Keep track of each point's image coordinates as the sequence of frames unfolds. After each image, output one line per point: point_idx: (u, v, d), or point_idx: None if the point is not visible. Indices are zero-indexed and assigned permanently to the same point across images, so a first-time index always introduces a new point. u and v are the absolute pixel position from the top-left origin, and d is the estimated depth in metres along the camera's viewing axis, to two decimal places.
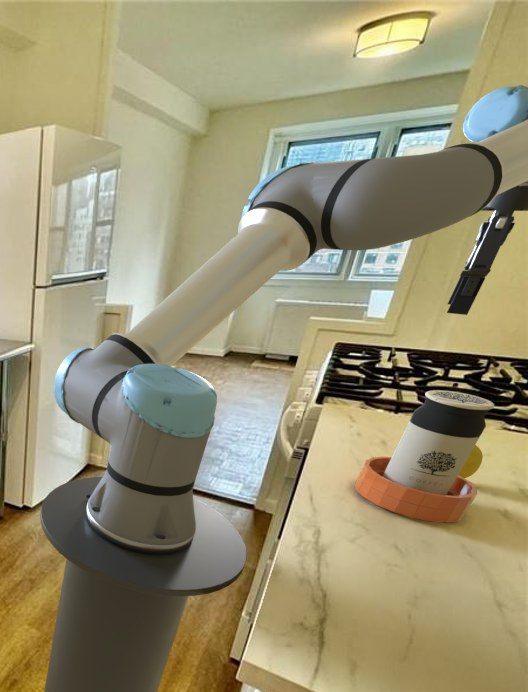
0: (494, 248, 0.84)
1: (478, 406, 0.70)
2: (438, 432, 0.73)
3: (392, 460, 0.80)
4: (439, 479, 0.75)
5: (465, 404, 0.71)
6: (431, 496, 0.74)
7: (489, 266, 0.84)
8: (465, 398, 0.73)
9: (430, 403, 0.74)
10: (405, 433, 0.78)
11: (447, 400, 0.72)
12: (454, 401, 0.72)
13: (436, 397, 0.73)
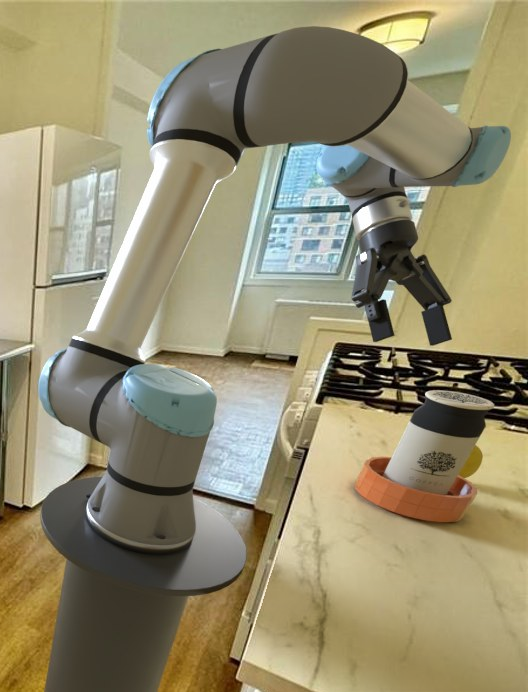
0: (365, 274, 0.83)
1: (478, 406, 0.70)
2: (438, 432, 0.73)
3: (392, 460, 0.80)
4: (439, 479, 0.75)
5: (465, 404, 0.71)
6: (431, 496, 0.74)
7: (365, 288, 0.82)
8: (465, 398, 0.73)
9: (430, 403, 0.74)
10: (405, 433, 0.78)
11: (447, 400, 0.72)
12: (454, 401, 0.72)
13: (436, 397, 0.73)
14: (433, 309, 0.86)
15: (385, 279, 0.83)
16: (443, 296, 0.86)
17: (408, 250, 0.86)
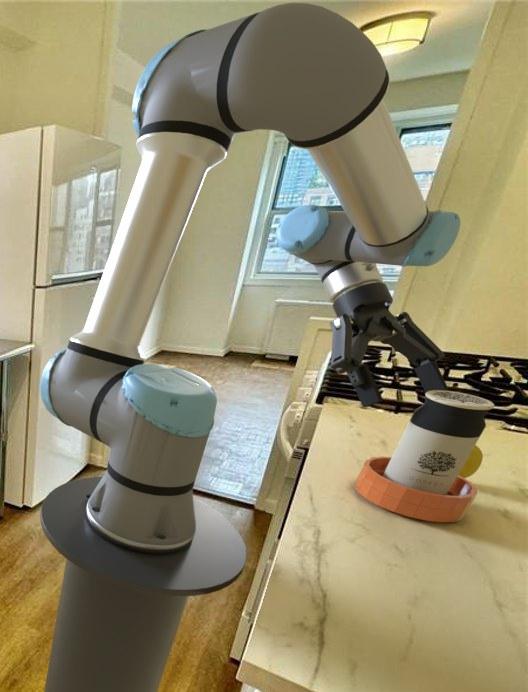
0: (341, 341, 0.82)
1: (478, 406, 0.70)
2: (438, 432, 0.73)
3: (392, 460, 0.80)
4: (439, 479, 0.75)
5: (465, 404, 0.71)
6: (431, 496, 0.74)
7: (343, 355, 0.80)
8: (465, 398, 0.73)
9: (430, 403, 0.74)
10: (405, 433, 0.78)
11: (447, 400, 0.72)
12: (454, 401, 0.72)
13: (436, 397, 0.73)
14: (425, 366, 0.82)
15: (364, 343, 0.81)
16: (434, 351, 0.83)
17: (386, 310, 0.85)
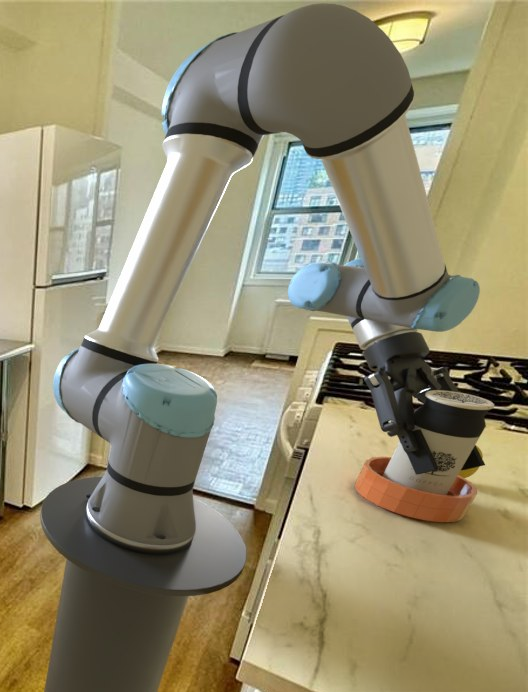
0: (386, 402, 0.77)
1: (478, 406, 0.70)
2: (438, 432, 0.73)
3: (392, 460, 0.80)
4: (439, 479, 0.75)
5: (465, 404, 0.71)
6: (431, 496, 0.74)
7: (394, 419, 0.75)
8: (465, 398, 0.73)
9: (430, 403, 0.74)
10: None
11: (447, 400, 0.72)
12: (454, 401, 0.72)
13: (436, 397, 0.73)
14: None
15: (409, 402, 0.76)
16: None
17: (421, 360, 0.80)
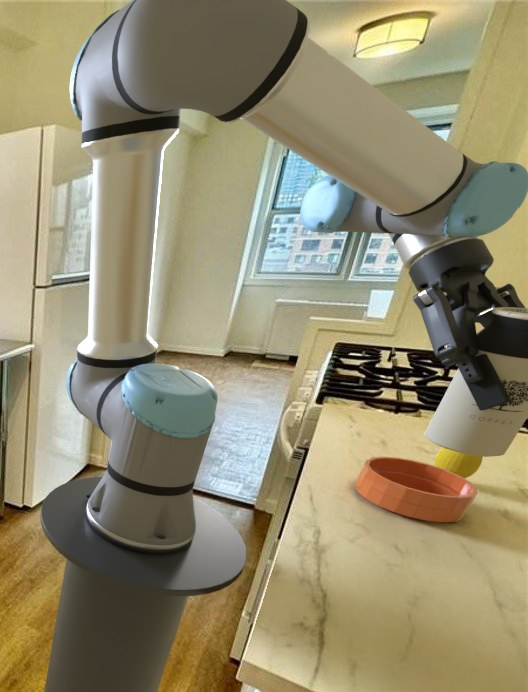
0: (442, 322, 0.62)
1: None
2: (510, 355, 0.59)
3: (446, 397, 0.65)
4: (509, 415, 0.60)
5: None
6: (431, 496, 0.74)
7: (453, 342, 0.61)
8: None
9: (500, 320, 0.60)
10: None
11: (523, 314, 0.58)
12: None
13: (508, 312, 0.59)
14: None
15: (470, 322, 0.62)
16: None
17: (482, 275, 0.65)
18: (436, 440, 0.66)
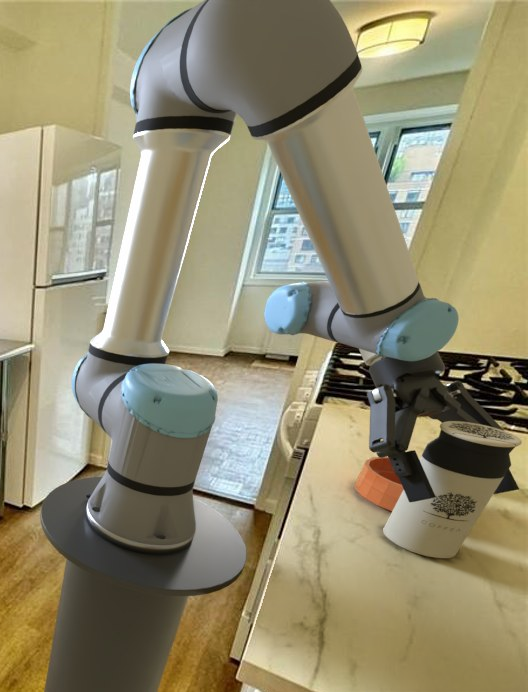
0: (382, 419, 0.67)
1: (503, 443, 0.60)
2: (455, 471, 0.63)
3: (401, 499, 0.70)
4: (456, 524, 0.65)
5: (487, 440, 0.61)
6: None
7: (385, 438, 0.65)
8: (487, 432, 0.63)
9: (446, 437, 0.64)
10: None
11: (466, 435, 0.62)
12: (475, 435, 0.62)
13: (453, 430, 0.63)
14: None
15: (410, 422, 0.66)
16: None
17: (435, 379, 0.70)
18: (392, 538, 0.71)
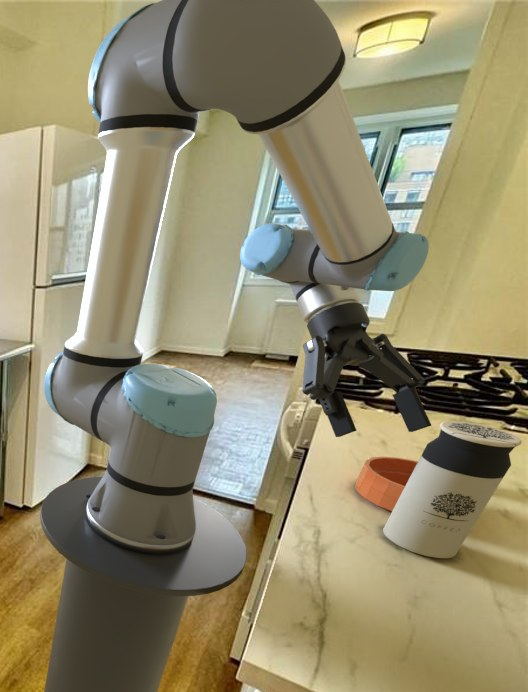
0: (313, 365, 0.76)
1: (503, 443, 0.60)
2: (455, 471, 0.63)
3: (401, 499, 0.70)
4: (456, 524, 0.65)
5: (487, 440, 0.61)
6: None
7: (314, 380, 0.75)
8: (486, 432, 0.63)
9: (446, 437, 0.64)
10: (416, 470, 0.68)
11: (466, 435, 0.62)
12: (475, 435, 0.62)
13: (453, 430, 0.63)
14: (404, 392, 0.77)
15: (337, 368, 0.76)
16: (414, 377, 0.77)
17: (362, 332, 0.79)
18: (393, 538, 0.71)
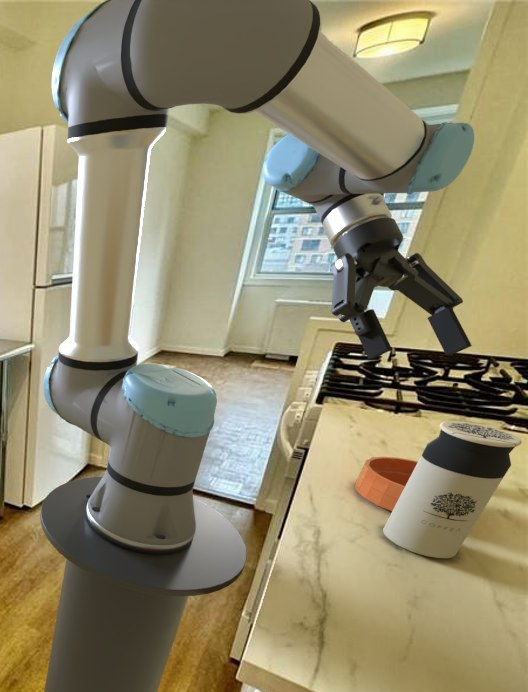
0: (343, 284, 0.71)
1: (503, 443, 0.60)
2: (455, 471, 0.63)
3: (401, 499, 0.70)
4: (456, 524, 0.65)
5: (487, 440, 0.61)
6: None
7: (345, 299, 0.69)
8: (486, 432, 0.63)
9: (446, 437, 0.64)
10: (416, 470, 0.68)
11: (466, 435, 0.62)
12: (475, 435, 0.62)
13: (453, 430, 0.63)
14: (441, 313, 0.71)
15: (369, 286, 0.70)
16: (451, 297, 0.72)
17: (395, 250, 0.74)
18: (393, 538, 0.71)
